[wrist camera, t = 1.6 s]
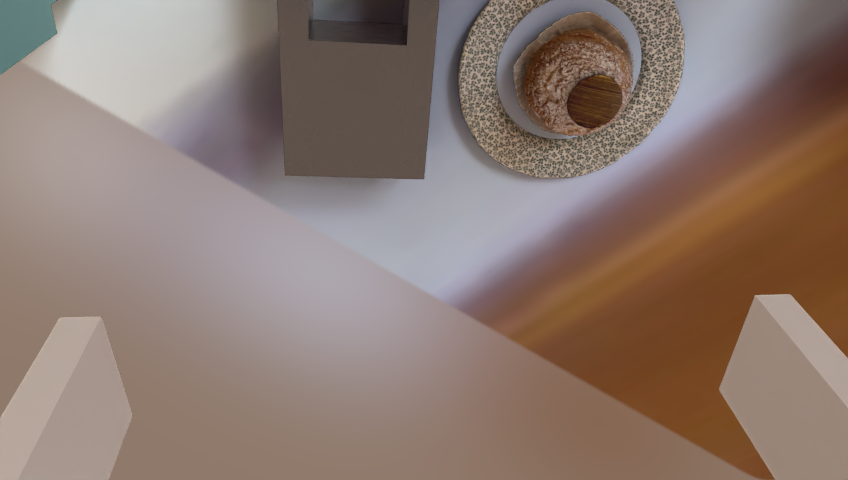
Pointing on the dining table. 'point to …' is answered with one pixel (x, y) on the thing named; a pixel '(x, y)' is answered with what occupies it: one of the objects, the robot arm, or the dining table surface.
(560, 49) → the pastry
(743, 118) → the dining table surface
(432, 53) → the rail
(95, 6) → the dining table surface
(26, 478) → the robot arm
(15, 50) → the clip
